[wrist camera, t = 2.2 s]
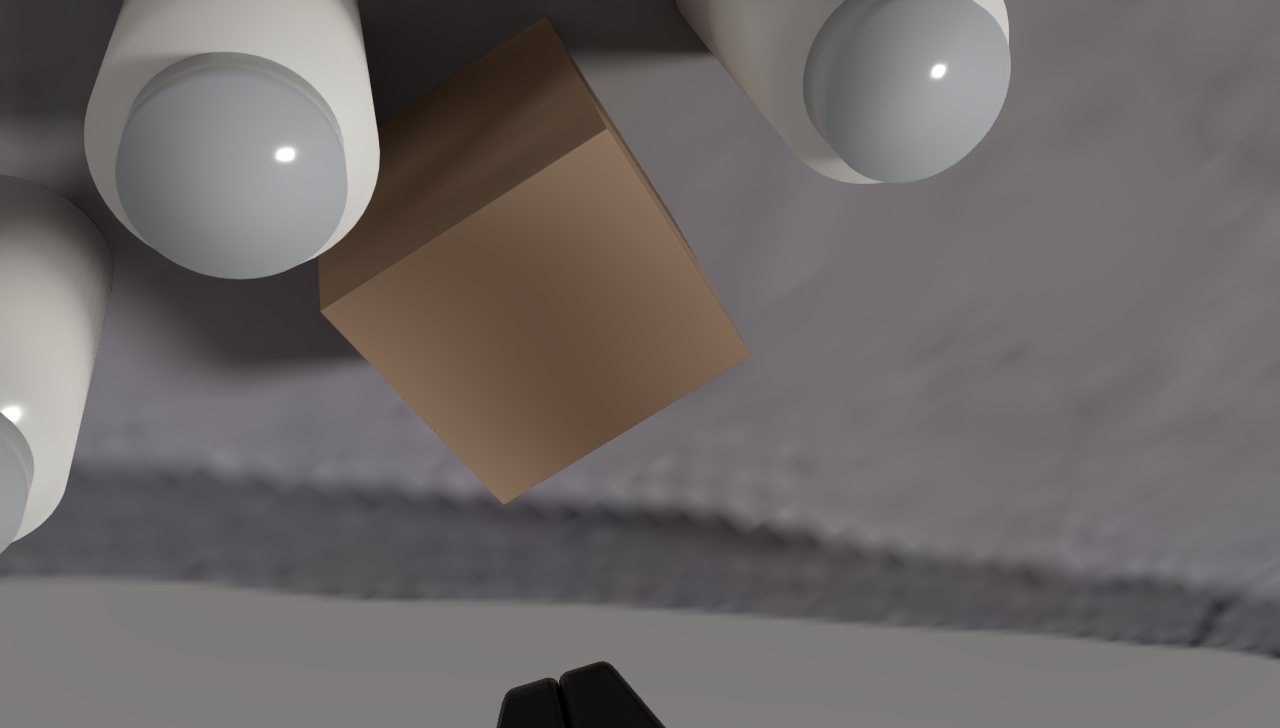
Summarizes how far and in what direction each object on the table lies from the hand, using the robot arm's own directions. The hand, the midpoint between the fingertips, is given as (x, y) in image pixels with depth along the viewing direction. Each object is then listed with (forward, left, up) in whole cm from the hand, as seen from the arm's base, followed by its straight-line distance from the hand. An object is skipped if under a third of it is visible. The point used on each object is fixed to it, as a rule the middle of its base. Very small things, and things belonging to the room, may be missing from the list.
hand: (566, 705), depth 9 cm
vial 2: (+2, -2, -12) cm, 13 cm away
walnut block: (-1, +2, -12) cm, 12 cm away
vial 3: (-6, -1, -12) cm, 14 cm away
